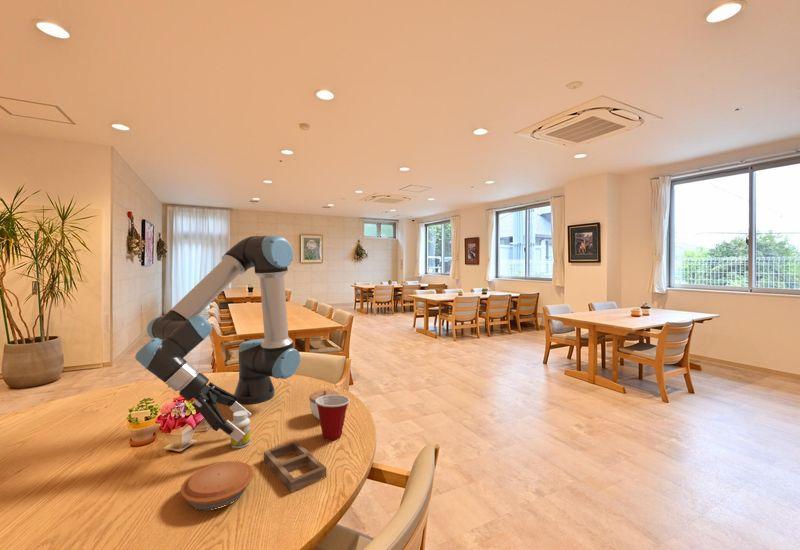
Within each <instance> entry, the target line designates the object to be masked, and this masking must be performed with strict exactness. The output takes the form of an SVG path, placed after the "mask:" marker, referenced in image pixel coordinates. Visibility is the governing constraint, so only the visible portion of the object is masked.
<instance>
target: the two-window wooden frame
mask: <svg viewBox="0 0 800 550" xmlns="http://www.w3.org/2000/svg"><path fill="white" fill-rule="evenodd" d="M292 453H295V454H296V455H297V456H295V457H292V458H290V459H286V460H285V461H279V460H278V457H279V458H281V457H285V456H287V455H289V454H292ZM263 461H264V462H265V463H266V465H267V464H268V465H269V466H268V465H267V466H268V467H269V468H270V470H271V471H272V470H273V471H274V472H273V471H272V472H273V473H274V474H275V476H276V477H277V476H278V477H279V478H280V479H279V478H278V477H277V478H278V479H279V480H280V482H281V483H282V484H283V483H284V484H283V485H284V486H285V487H286V488H287V490H288V489H289V490H290V491H289V492H290V493H291V492H292V493H294V492H296V491H299V490H300V489H303V488H305V486H306V487H308V486H310V485H312V484H311V483H313V482H315V481H317V482H319V481H321V480H320V479H321V478H324V477H326V478H327V467H326V466H325V465H324V464H323V463H322V462H320V461H319V459H317V458H316V456H314V455H313V454H312V453H311V452H310V451H308V449H306V448H305V447H304V446H303V444H301V443H300V442H299V441H297V440H294V441H291V442H288V443H284V444H282V445H279V446H276V447H273V448H270V449H267V450H265V451H263ZM306 466H308V467H309V469H311V470H310V471H309V472H306V473H303V474H300V475H299V476H296V477H293V476H292V474H291V472H292V471H296V470H298V469H301V468H304V467H306ZM290 471H291V472H290ZM324 479H325V478H324ZM318 480H319V481H318ZM315 483H316V482H315ZM309 484H310V485H309ZM313 484H314V483H313ZM307 485H308V486H307Z"/></svg>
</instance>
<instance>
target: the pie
mask: <svg viewBox="0 0 800 550" xmlns="http://www.w3.org/2000/svg"><path fill="white" fill-rule="evenodd" d="M254 477H255V471H254V469H253V467H252V465H250V464H249V463H246V462H242V461H239V460H238V461H233V460H232V461H220V462H216V463H212V464H209V465H207V466H205V467H203V468H201V469H199V470H197V471H196V472H194V473H192V474H191V475H190V476H188V477H187V478H186V479H185V480H184V482H183V483H182V484H181V487H180V490H179V491H180V494H181V496H182V497H183V499H185V500H186V502H188V503H189V504H190V505H191V506H192V507H193V508H194V507H195V508H194V509H196V508H197V509H196V510H198V509H200V510H199V511H202V510H210V511H212V510H211V509H215V508H218V507H221V506H224V505H227V504H229V503H231V502H233V501H235V500H236V499H237V500H239V499H238V498H240V497H242V495H243V494H244V492H245V491H246V489H247V487H248V486H249V485H250V483H251V482H252V480H253V479H254ZM237 500H236V501H237ZM236 501H235V502H236ZM233 503H234V502H233Z"/></svg>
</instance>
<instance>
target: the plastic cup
mask: <svg viewBox="0 0 800 550" xmlns="http://www.w3.org/2000/svg"><path fill="white" fill-rule="evenodd" d="M350 401H351V400H350V398H349V397H348V396H346V395H341V394H340V395H326V396H321V397H318V398H317V399H316V404H317V407H318V412H319V417H320V420H319V423H320V427H321V434H322V438H323V439H324V440H326V441H336V440H338V439H340V438H341V437H342V434H343V428H344V424H345V420H346V419H345V418H346V413H347V409H348V405H349V403H350Z"/></svg>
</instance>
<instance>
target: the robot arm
mask: <svg viewBox="0 0 800 550" xmlns="http://www.w3.org/2000/svg"><path fill="white" fill-rule="evenodd" d="M293 259H294V250H293V247H292V245H291V243H290V242H289V241H288V240H287V239H286V238H285V237H283V236H279V235H272V234H271V235H259V236H258V235H253V236H252V235H251V236H248V237H245V238H243V239H241V240H240V241H238V242H237V243H236V244H234V245H233V246H232V247H231V248H230V249H228V250H227V251H226V252H225V253H224V254H223V255H222V256H221V261H220V262H219V263H218V264H217V265H216V266H215V267H214V268H213V269H212V270H210V272H209V273H207V274H206V275H205V276H204V277H203V278H202V279H201V280H200V281H199V282H198V283H197V284H196V285H195V286H193V288H191V290H189V292H188V293H186V294H185V295H184V297H182V298H181V299H180V300H179V301H178V302H177V303H176V304H175V305H174V306H173V307H172V308H171V309H170V310H169V311H167V312H166V314H164V315H163V316H158V317H155V318H153V319H151V320H150V322H149V323H148V325H147V328H146V332H147V334H148V336H149V337H150V338H151V340H149V341H148V342H147V343H146V344H144V346H142V347H141V348H140V349H139V350H138V351H137V352H136V354H135V355H134V356H135V360H136V361H137V362H138V363H139V364H141V366H143V367H144V369H145V370H148V372H150V373H151V374H153V375H154V376H155V377H156V378H158V379H159V380H160V381H162V382H163V383H165V384H166V385H167V387H168V388H171V389H172V390H174V392H178V391H179V392H178V394H179V396H181V397H182V398H183V399H185V400H186V401H191V400H192V399H194V400H195V401H194V402H193V403H192V406H193V407H194V409H196V410H197V411H198V413H199V414H201V416H202V417H203V419H204V420H205V421H206V422H207V424H208V425H209V426H210V428H211V429H212V430H213V431H215V432H218V430H220V431H222V432H223V433H225V435H228V436H229V437H230V439H231V438H233V439H234V440H235V441H236V442H239V440H240V439H241V438H242V437H243V436H244V435H245V433H244V432H242V431H241V430H240V429H239V428H237V427H236V426H235V425H234V424H232V423H231V422H232V421H230V420H229V419H227V420H226V419H225V417H224V416H223V414H222V412H221V411H220V409H219V407H218V406H217V404H220V405H223V406H227V407H228V408H229V410H231V411H232V412H233V414H234V413H235V412H237V411H247V413H248V416H247V418H249V417H251V416H252V413H251V412H250V411H249V410H248V409H246V408H245V407H244V406H243V405H242V404H243V403H248V404H249V403H250V404H258V403H262V402H266V401H269V400H271V399H272V398H273V397H274V396H275V394H276V393H275V386H274V383H273V381H272V378H274V379H281V380H286V379H289V378H291V377H292V376H294V374H296V372H297V370H298V369H299V367H300V365H301V354H300V352H299V351H298V350H297V349H296V348H294V341H293V339H292V338H290V336H289V327H288V314H287V300H286V298H287V297H286V287H285V275H286V274H287V273H288V269H289V268H288V267H289V266H290V265H291V264H292V261H293ZM251 268H254V274H255V275H256V276H257V277H259V284H260V297H261V309H262V323H263V333H264V338H259V339H257V338H256V339H250V340H246V341H243V342H241V343H239V345H238V353H237V354H238V381H237V384H236V386H235V387H236V388H235V391H234V394H232V393H231V392H228V391H227V390H225V389H223V388H221V387H220V386H217V385H216V384H214V383H213V382H212V381H209V380H210V379H209V378H208V377H207V376H206V375H204V374H203V373H202V372H198V371H199V370H198V368H196V367H194V365H193V364H191V363H190V362H188V361H187V360H186V359H185V357H186V356H187V355H188V354H189V353H190V352H191V351H193V350H194V349H195V348H196V347H197V346H198V345H199V344H200V343H201V342H203V341H204V340H205V339H206V338H207V337H208V336H209V335H210V333H212V331H213V327H212V324H211V322H209V320H207V318H205V317H204V316H203V315H200V314H201V313H202V312H204V311H205V309H206V308H207V307H208V306H209V305H211V303H212V302H213V301H214V300H216V298H217V297H218V296H219V295H220V294H221V293H222V292H223V291H224V290H225V289H226V288H227V287H228V286H229V285H230V284H231V283H232V282H233V280H234V279H236V278H237V277H238V276H239V275H244V274H245V273H246V272H247V271H248V270H249V269H251ZM271 377H272V378H271ZM238 402H239V403H238Z"/></svg>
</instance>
